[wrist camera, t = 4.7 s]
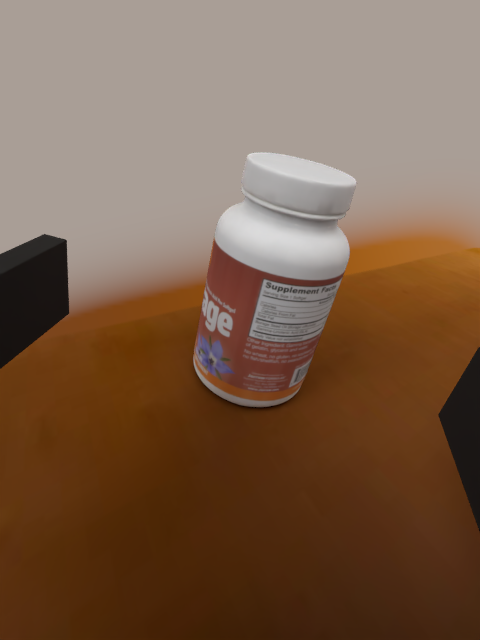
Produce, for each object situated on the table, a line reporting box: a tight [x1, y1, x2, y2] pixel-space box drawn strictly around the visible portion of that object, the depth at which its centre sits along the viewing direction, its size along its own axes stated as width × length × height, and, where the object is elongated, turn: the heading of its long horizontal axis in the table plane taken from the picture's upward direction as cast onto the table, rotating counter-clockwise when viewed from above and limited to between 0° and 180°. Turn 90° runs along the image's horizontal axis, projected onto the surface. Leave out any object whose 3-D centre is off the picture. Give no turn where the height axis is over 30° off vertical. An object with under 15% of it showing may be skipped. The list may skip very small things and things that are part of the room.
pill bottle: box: [193, 152, 356, 407], centre depth 19 cm, size 6×6×11 cm
